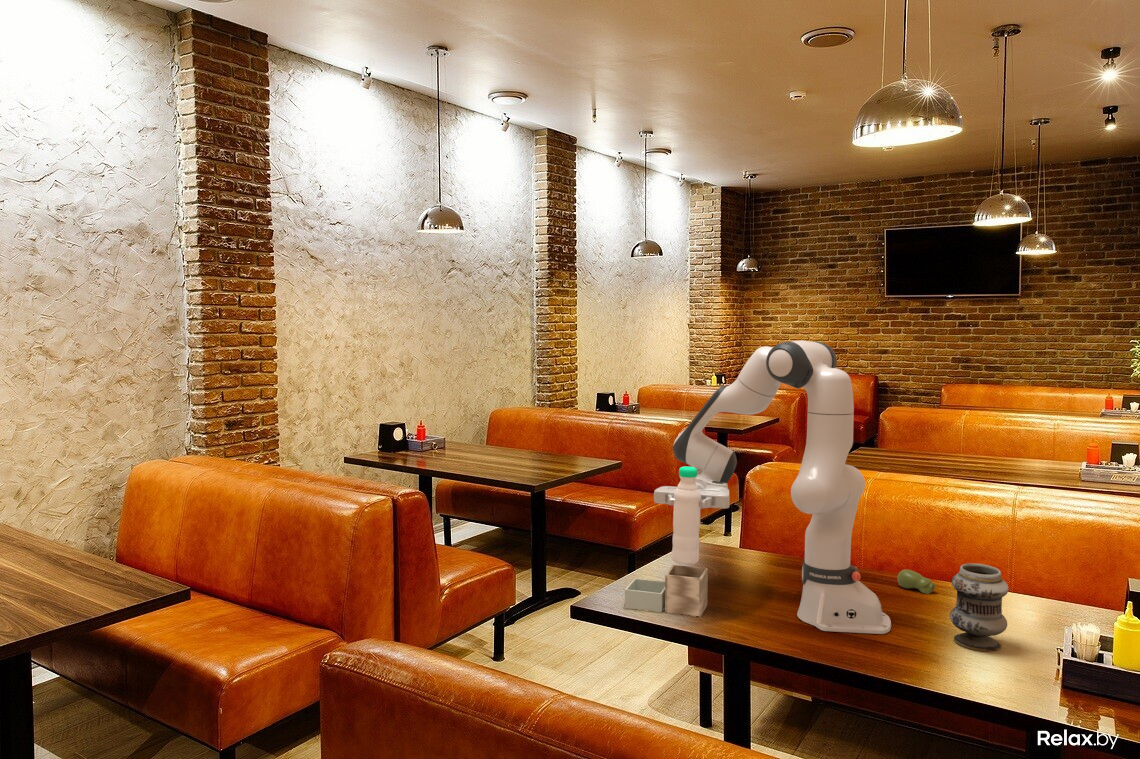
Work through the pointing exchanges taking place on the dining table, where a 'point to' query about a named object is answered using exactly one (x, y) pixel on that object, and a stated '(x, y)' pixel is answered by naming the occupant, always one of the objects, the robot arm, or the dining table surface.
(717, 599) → the dining table surface
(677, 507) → the water bottle
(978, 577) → the apothecary jar
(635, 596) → the bottle caddy
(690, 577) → the birch sleeve
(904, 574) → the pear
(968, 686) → the dining table surface
